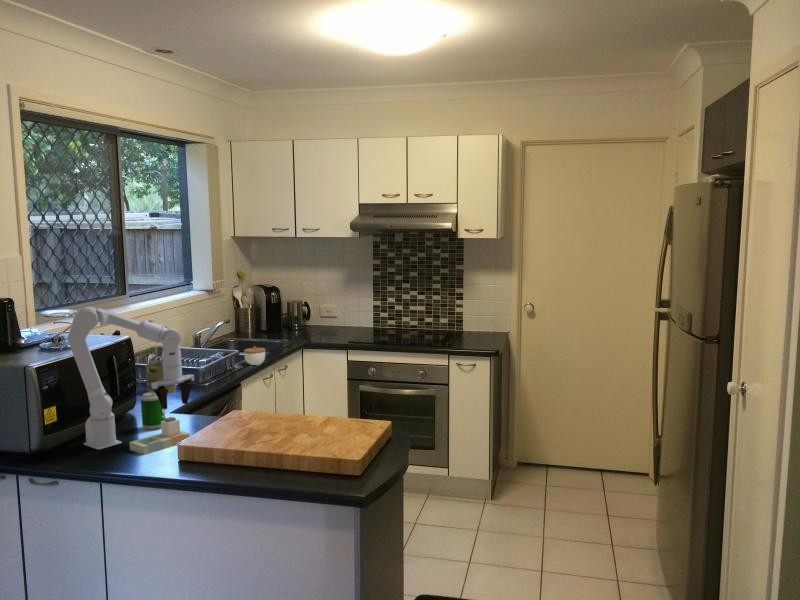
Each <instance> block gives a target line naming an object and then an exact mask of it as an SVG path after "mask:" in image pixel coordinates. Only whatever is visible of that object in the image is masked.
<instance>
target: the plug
mask: <svg viewBox="0 0 800 600" xmlns="http://www.w3.org/2000/svg"><path fill="white" fill-rule="evenodd" d="M160 429H161V433H162V436H164V437H167V438H170V437H171V436H174V435H178V434H180V431H181V427H180V420H179V419H176V417H173V416H169V417H165V420H164V421H161V428H160Z"/></svg>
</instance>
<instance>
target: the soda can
mask: <svg viewBox="0 0 800 600" xmlns="http://www.w3.org/2000/svg"><path fill="white" fill-rule="evenodd" d="M140 409H141V421H142V422H141V425H142V427H143V428H144V429H145V430H146V429H147V431H154V429H156V430H160V429H161V421H164V420H165V418H166V409H162V407H161V404H160V401H159V399H158V397H157V395H156V393H155V392H147V391H146V392H144V393H142V395H141V397H140ZM159 428H160V429H159Z"/></svg>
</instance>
